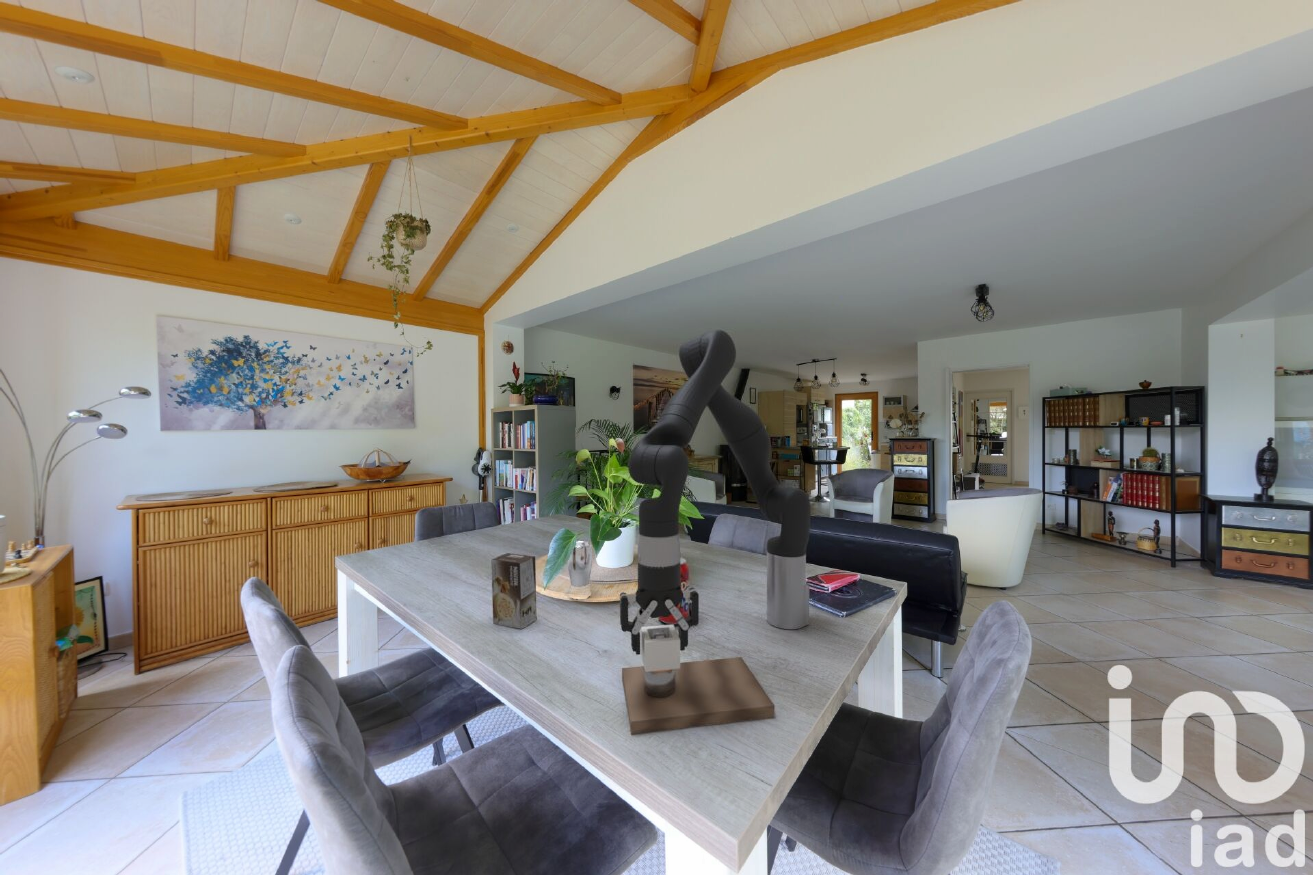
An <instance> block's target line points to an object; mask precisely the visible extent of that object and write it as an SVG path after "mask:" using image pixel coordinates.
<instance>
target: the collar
mask: <svg viewBox="0 0 1313 875" xmlns="http://www.w3.org/2000/svg"><path fill="white" fill-rule="evenodd" d="M656 630H663V631H665V632H666V638H661V639H653V632H654V631H656ZM677 632H678V631H677V630H676V627H675V625H672V624H662V625H651V626H642V627H641V629H640V655H641V659H642V663H643V666H644V668H645V672H648V671H659V670H669V669H680V663H681V651H680V638H679V636H678V633H677Z"/></svg>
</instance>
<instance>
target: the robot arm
mask: <svg viewBox="0 0 1313 875" xmlns="http://www.w3.org/2000/svg"><path fill="white" fill-rule="evenodd" d="M678 353H679V354H678V355H679V356H678V357H679V362H680V365H681V367H682V368H683V371H684V374H685V375H686V376H687V380H686V382H684V383H683V384H682V385H681V386H680V387H679V388H678V389H677V390H676V391H675V393H674V394H673V395H672V396H670V399H669V400H668V401H667V403H666V405H665V407H664V409H663V410H662V412H661V414H660V417H659V419H658V421H656V422H657V423H656V424H655V425H654V426H653V427H652V428H650V429H649V431H648V432H647V433H645V435H644V436H643V437H642V438H641V439H640V440H639V441H638V442H637V443H636V445H635V446H634V447H633V449H632V451H631V452H630V454H629V458H628V464H627V468H628V473H629V476H630V478H631V479H632V481H634V482H635V483H638V484H641V485H648V486H649V485H650V486H651V485H652V486H661V491H660V493H659V495H658V496H656V497H655V496H654V497H650V498H645V499H643V500H642V501H641V502H640V503H639V506H638V538H637V539H638V540H637V590H636V591H635V593H628V594H627V593H626V592H624V591H623V592H620V594H619V616H620V617H619V618H620V619H619V621H620V623H619V624H620V625H621V626H620V627H621V630H622V632H624V633H625V632H629V633H630V645H631V650H632V652H633V653H634V652H635V655H636V656H638V655H639V656H640V655H641V627H644V625H645V624H647V622H648V620H649V618H651V619H656V618H658V617H660V616H661V617H669V615H671V614H672V615H673V616H674V618H675V619H676V621H677V622H678V623H679V624H678V626H677V628H678V631H677V632H678V633H677V634H678V636H679V638H680V652H681V651H683V652H684V651H685V650H686V648H687V647H688V645H689V629H690V628H691V627H693V626H694V627H697V626H698V625H699V619H700V617H699V612H700V610H699V609H700V607H699V604H700V602H699V600H700V598H699V593H698V592H697V590H696V589H695V588H694V587H689V590H683V591H682V590H681V579H680V559H681V558H682V553H681V541H680V540H681V539H680V531H679V530H680V525H679V524H680V522H679V521H680V514H679V513H680V512H679V511H680V507H681V500H682V496H683V493H684V490H685V489H684V488H685V486H686V482H687V477H688V474H689V471H690V469H689V468H690V462H689V458H688V455H687V453H686V452H685V450H684V448H685V447H687V446H688V445H689V444H690V442H691V441H692V438H693V436H694V433H695V431H696V430H697V427H698V424H699V421H700V419H701V418H702V416H703V414H704V411H705V409H706V408H708V410H709V411H710V413H711V415H712V416H713V418H714V420H715V422H716V423H717V425H718V428H719V429H720V431H721V434H722V435H723V437H724V439H725V441H726V443H727V444H728V446H729V448H730V450H731V452H732V453H733V455H734V457H735V458H736V460H737V463H738V464H739V467H740V469H741V470H742V472H743V475H745V477H746V480H747V481H748V484H749V485H750V489H751V491H752V494H753V496H754V498H755V501H756V503H757V506H758V508H759V511H760V513H761V514H762V516H763V517H764V518H765V519H766V520H768V521H769V522H773V523H775V524H780V525H781V526H780V534H779V535H776V536H772V537H770V538H768V540H767V542H766V621H767V623H768V624H770V625H771V626H773V627H776V628H779V629H785V630H799V629H801V628H804V627H805V626H810V586H809V585H808V584H807V583H806V582H807V581H806V580H807V565H806V564H807V559H806V558H807V546H808V543H809V540H810V527H811V525H810V524H811V513H812V512H811V501H810V497H809V495H808V494H807V492H806V491H805V490H804V489H801V488H798V487H797V488H796V487H789V486H783V485H782V484H781V483H779V481H778V480H777V478H776V476H775V474H774V472H773V471H772V468H771V463H770V462H771V455H772V454H771V453H772V452H771V451H772V443H771V442H772V441H771V438H770V435H769V433H768V430H767V429H766V427H765V425H764V422H763V420H762V419H761V417H760V416H759V415H758V413H757V412H756V411H755V410H754V409H752V408H751V407H750V406H748V405H747V404H745V403H744V402H743V401H741V400H739V399H738V398H737V397H735V396H734V395H732V394H731V393H730V392H728V391H727V390H726V388H725V387H723V385H722V383H723V381H724V380H725V379H726V377H727V375H729V373H730V371H731V370H732V369H733V367H734V365H735V362H736V360H737V359H736V358H737V350H736V345H735V342H734V340H733V339H732V337H731V336H730V334H728V332H726V331H724V330H722V329H715V330H710V331H707V332H705V333H703V334H701V335H698V336H695V337H694V338H691V339H689V340H687V341H684V342H683V343H681V345H680V346H679V352H678ZM683 597H684V598H685V599H686V601H687V603H689V616H688V617H686V618H684V617H683V615H682V614H681V612H680V611H679V609H678V608H677V606H678V605H679V603H680V602H681V600H682V599H683ZM634 602H636V603H637V605H638V606H639V607H638V610H637V611H636V614H635V616H634V617H633V619H632V621H629V608H631V607H632V606H633V604H634Z"/></svg>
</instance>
